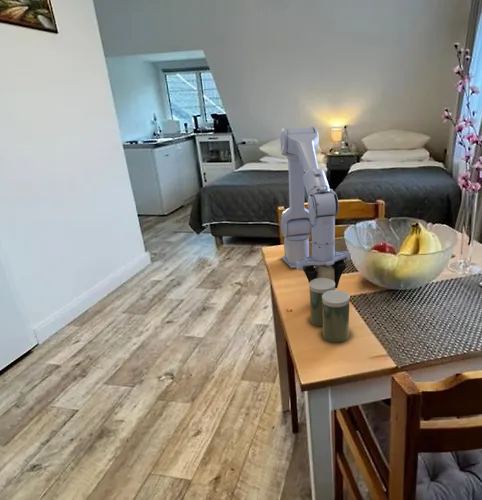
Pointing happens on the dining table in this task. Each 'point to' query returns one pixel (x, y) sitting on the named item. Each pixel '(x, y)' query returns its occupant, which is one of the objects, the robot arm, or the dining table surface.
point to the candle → (325, 272)
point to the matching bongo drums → (329, 309)
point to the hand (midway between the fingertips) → (323, 289)
